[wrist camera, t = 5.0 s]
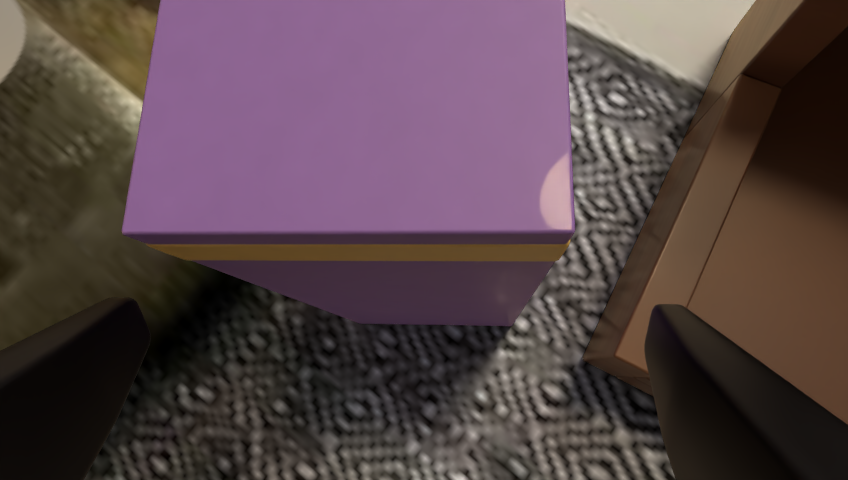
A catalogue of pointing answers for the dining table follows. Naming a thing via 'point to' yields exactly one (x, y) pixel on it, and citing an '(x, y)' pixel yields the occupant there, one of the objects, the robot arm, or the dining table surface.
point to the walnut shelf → (754, 210)
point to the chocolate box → (361, 152)
